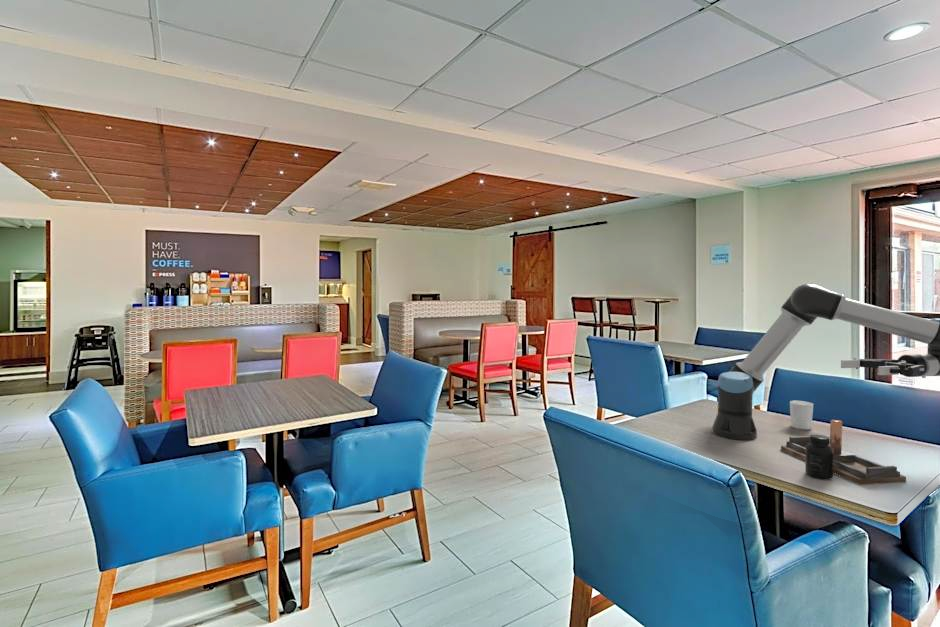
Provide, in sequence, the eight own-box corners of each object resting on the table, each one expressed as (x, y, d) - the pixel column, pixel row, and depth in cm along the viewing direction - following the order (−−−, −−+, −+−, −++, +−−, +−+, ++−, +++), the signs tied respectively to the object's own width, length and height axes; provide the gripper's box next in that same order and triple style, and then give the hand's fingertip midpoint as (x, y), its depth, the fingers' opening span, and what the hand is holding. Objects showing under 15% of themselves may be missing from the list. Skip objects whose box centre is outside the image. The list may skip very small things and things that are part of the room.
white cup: (817, 430, 191) (818, 405, 191) (797, 430, 192) (798, 405, 191) (804, 424, 199) (804, 400, 199) (784, 424, 199) (785, 400, 199)
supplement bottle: (839, 479, 142) (840, 439, 142) (817, 480, 142) (818, 440, 141) (820, 470, 149) (821, 432, 149) (799, 471, 149) (800, 433, 148)
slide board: (905, 481, 140) (906, 466, 140) (859, 484, 139) (859, 469, 139) (820, 447, 170) (820, 435, 170) (781, 450, 169) (781, 437, 168)
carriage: (855, 461, 152) (856, 423, 152) (834, 462, 151) (835, 424, 151) (835, 453, 159) (836, 417, 159) (816, 454, 158) (817, 418, 158)
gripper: (957, 383, 150) (896, 386, 148) (880, 370, 175) (827, 372, 173) (958, 359, 150) (897, 361, 148) (881, 349, 175) (828, 351, 172)
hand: (859, 367), depth 160 cm, fingers open, 13 cm apart
